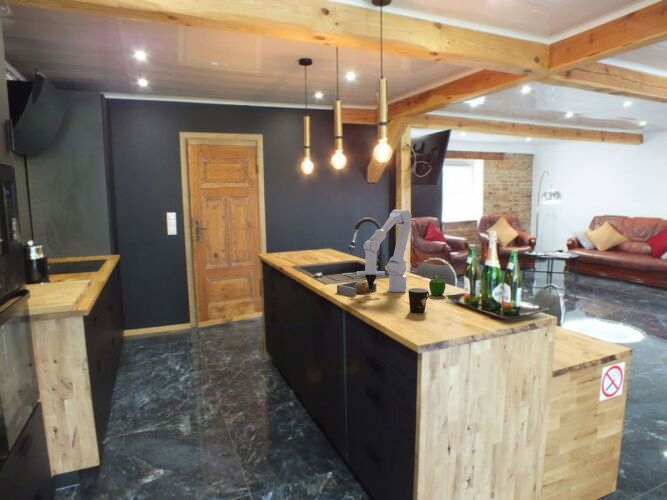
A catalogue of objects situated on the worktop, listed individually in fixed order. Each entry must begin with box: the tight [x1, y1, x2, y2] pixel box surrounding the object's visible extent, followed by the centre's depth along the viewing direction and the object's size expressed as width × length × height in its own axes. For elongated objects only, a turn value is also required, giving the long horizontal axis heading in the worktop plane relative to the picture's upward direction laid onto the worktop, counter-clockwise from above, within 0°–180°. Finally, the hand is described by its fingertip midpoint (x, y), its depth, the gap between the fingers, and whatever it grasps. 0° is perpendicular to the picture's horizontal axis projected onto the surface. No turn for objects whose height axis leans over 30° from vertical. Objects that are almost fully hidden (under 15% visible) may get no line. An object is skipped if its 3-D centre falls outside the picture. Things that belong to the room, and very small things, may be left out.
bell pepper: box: [428, 275, 446, 297], centre depth 223 cm, size 8×8×10 cm
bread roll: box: [354, 280, 373, 295], centre depth 229 cm, size 10×10×8 cm
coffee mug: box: [407, 287, 430, 314], centre depth 191 cm, size 12×9×10 cm
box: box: [336, 280, 377, 297], centre depth 229 cm, size 12×18×4 cm, turn 138°
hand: (370, 289), depth 223 cm, fingers closed
